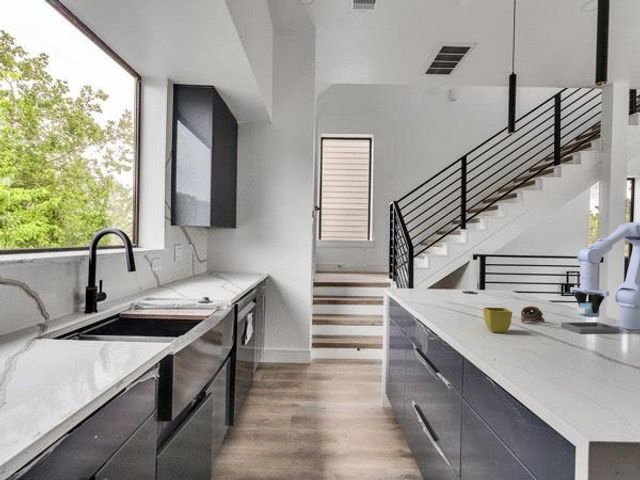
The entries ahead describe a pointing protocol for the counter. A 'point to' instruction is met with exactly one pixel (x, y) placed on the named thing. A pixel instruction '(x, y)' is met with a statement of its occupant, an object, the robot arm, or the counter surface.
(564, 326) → the tray
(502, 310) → the flower pot
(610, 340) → the counter surface
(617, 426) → the counter surface
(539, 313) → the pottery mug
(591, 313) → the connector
